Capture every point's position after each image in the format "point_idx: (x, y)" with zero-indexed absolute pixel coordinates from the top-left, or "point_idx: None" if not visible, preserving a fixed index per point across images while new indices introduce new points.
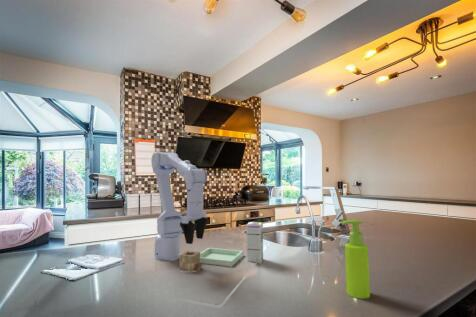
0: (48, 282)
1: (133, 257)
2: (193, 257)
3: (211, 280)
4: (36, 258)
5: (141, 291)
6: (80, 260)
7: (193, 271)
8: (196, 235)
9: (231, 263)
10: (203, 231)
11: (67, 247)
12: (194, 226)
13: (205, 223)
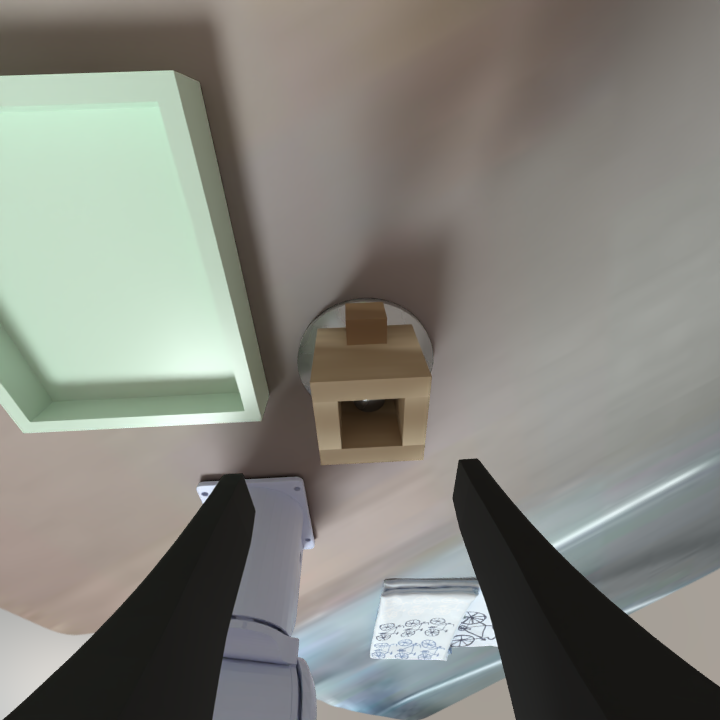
0: None
1: (325, 589)
2: (419, 371)
3: (490, 139)
4: (427, 688)
5: (644, 401)
6: (433, 645)
7: (407, 321)
8: (249, 542)
9: (182, 74)
10: (196, 545)
11: (333, 702)
12: (684, 701)
13: (111, 700)
